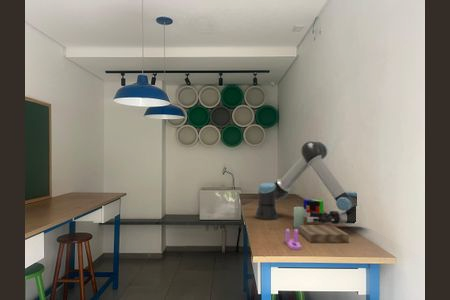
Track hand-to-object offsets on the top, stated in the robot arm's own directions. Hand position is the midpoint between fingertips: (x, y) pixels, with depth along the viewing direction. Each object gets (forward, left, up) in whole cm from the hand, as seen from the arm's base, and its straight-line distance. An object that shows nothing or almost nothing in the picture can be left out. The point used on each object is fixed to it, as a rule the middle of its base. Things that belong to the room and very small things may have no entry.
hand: (303, 217), depth 184 cm
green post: (-3, +1, -6) cm, 7 cm away
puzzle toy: (+21, +42, -7) cm, 47 cm away
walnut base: (+3, -20, -6) cm, 22 cm away
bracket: (-17, -35, -7) cm, 40 cm away
